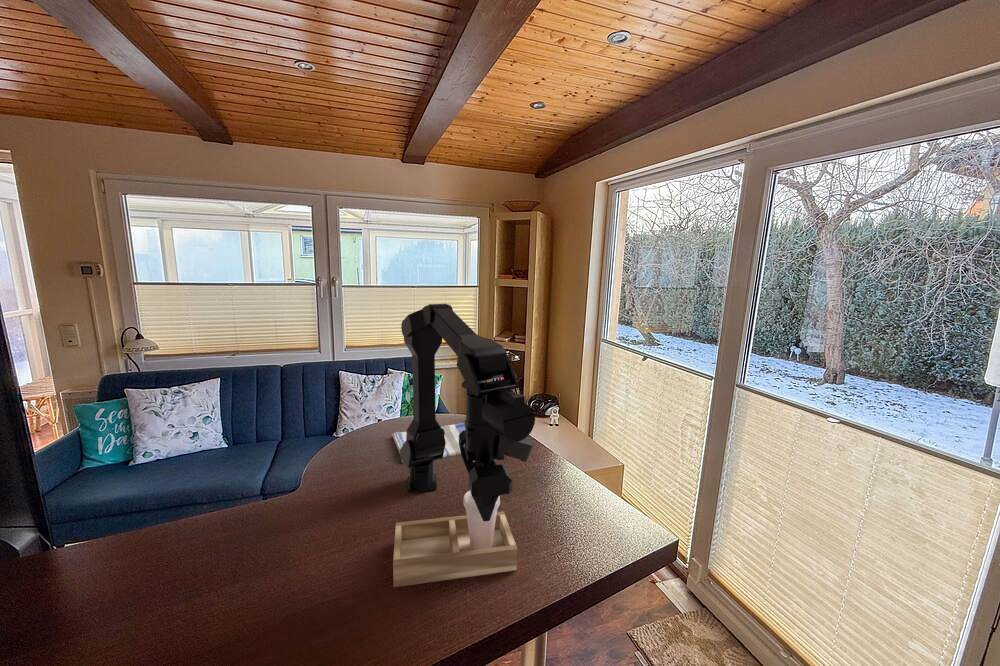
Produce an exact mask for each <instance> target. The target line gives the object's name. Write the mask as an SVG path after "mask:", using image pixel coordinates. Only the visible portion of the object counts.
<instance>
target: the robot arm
mask: <svg viewBox="0 0 1000 666" xmlns="http://www.w3.org/2000/svg"><path fill="white" fill-rule="evenodd" d="M400 325H401V326H400V327H401V328H400V329H401V333H402V336H403V342H404V344H405V346H406V347H407V349H408V350H409V352H410V353H411V358H412V359H411V360H412V361H411V362H412V364H411V365H412V366H411V367H412V397H413V398H412V401H413V402H412V404H413V405H412V406H413V407H412V408H413V419H412V421H411V423H410V424H409V426H408V427H407V429H406V432H407V433H406V441H405V443H404V444H403V446H402V447H401V449H400V453H399V458H400V460H402V461H401V463H402V462H403V463H402V464H404V466H406V468H407V469H408V473H409V474H408V475H407V489H406V491H407V493H417V492H418V493H419V492H427V491H428V492H429V491H430V492H431V491H437V490H438V485H437V483H438V482H437V474H436V473H435V461H437V460H442V459H444V458H443V454H444V449H445V444H446V442H445V438H444V435H445V432H444V430H443V428H441V427H442V426H441V425H440V424H439V422H438V421H437V417H436V414H437V413H436V410H437V409H436V407H437V406H436V358H435V357H436V354H437V352H438V350H439V348H441V345H442V344H443V341H444V343H446V344H447V346H449V347H450V349H451V350H452V351H453V352H454V353H455V355H456V356H457V358H456V359H457V360H456V367H457V368H458V370H459V372H460V374H461V376H462V378H463V382H462V383H461V387H462V388H463V389H465V392H466V394H465V395H466V401H465V405H466V409H465V413H466V414H465V419H464V422H463V423H464V426H465V429H466V430H463V431H462V432H461V433H460V434H459V447H460V452H461V457H462V461H463V463H464V465H465V468H466V470H467V474H468V487H469V491H470V492H471V495H472V497H473V499H474V501H475V503H476V506H477V508H478V510H479V513H480V515H481V517H482V520H483V521H490V518H491V515H492V512H493V510H494V507H495V504H496V501H497V499H498V497H499V496H500V497H501V495H502V496H505V495H510V494H511V493H512V492H513V478H512V476H511V474H510V472H509V470H508V468H507V467H506V466H505V465H503V464H497V463H496V461H495V460H497V461H505V456H506V457H509V458H512V459H513V458H514V459H516V460H519V461H520V462H524V463H526V462H528V460H529V459H530V456H531V453H532V450H533V448H534V442H533V441H532V440H531V438H530V437H529V435H530V434H531V432H532V431H533V430H534V426H535V423H536V415H535V414H534V411H533V409H532V407H531V405H529V404H527V403H525V401H526V399H525V398H526V396H525V395H524V394H523V393H517V392H514V391H513V390H518V389H520V385H519V383H518V375H517V374H516V372H515V370H514V367H513V365H512V363H511V360H510V357H509V355H508V353H507V350H506V348H504V346H503V345H502V344H500V343H499V342H497V341H495V340H493V339H491V338H488V337H484V336H480V335H479V334H477V333H476V332H475V331H474V330H473V329H472V328H471V327H470V326H469V325H468V324H467V323H466V322H465V321H464V320H463V319H462V318H461V317H460V316H459V315H458V314H456V312H455V311H454V309H453V307H452V305H451V304H448V303H429V304H427V305H425V306H424V307H422V308H421V309H420V310H417V311H414V312H412V313H409V314H407V316H406V317H405V318H404V319H403V320H402V322H401V324H400ZM500 378H503V379H500ZM496 379H499V380H496ZM489 380H490V381H489ZM491 380H492V381H491Z"/></svg>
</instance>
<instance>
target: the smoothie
mask: <svg viewBox="0 0 1000 666" xmlns="http://www.w3.org/2000/svg"><path fill="white" fill-rule="evenodd" d="M500 498H501V495H500V496H499V497H498V499H497V501H496V504H495V507H494V510H493V512H492V515H491V518H490V521H483V520H482V517H481V515H480V513H479V510H478V508H477V506H476V503H475V501H474V499H473V497H472V495H471V492H470V490H468V491H466V493H465V494H464V495H463V506H464V508H465V515H467V523H468V531H469V539H470V547H471V550H478V549H486V548H491V546H492V540H493V534H494V527H495V521H496V514H497V512H498V508H499V506H500V504H501V499H500Z"/></svg>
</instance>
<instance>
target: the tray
mask: <svg viewBox="0 0 1000 666" xmlns="http://www.w3.org/2000/svg"><path fill="white" fill-rule="evenodd" d="M506 516H507V515H506V513H505V512H504V511H497V514H496V521H495V527H494V534H493V540H492V546H491V548H486V549H478V550H471V547H470V539H469V531H468V523H467V515H466V514H465V515H464V514H463V515H455V516H447V517H438V518H430V519H429V518H428V519H420V520H410V521H408V520H407V521H401V522H395V528H394V529H395V531H394V547H393V561H392V568H393V569H392V571H393V572H392V573H393V576H392V577H393V578H392V579H393V588H397V587H404V586H405V587H406V586H413V585H420V584H427V583H434V582H442V581H448V580H456V579H463V578H470V577H476V576H477V577H478V576H484V575H485V576H486V575H491V574H492V575H493V574H498V573H506V572H513V571H514V572H515V571H517V570H518V569H517V568H518V547H517V543H516V541H515V539H514V536H513V534H512V530H511V528H510V524H509V522H508V519H507V517H506Z"/></svg>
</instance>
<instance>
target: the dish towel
mask: <svg viewBox="0 0 1000 666" xmlns="http://www.w3.org/2000/svg"><path fill="white" fill-rule="evenodd" d="M440 427H441V428H443V430H444V432H445V435H444V438H445V442H446V444H445V449H444V454H443V459H444V458H449V457H456V456H460V455H461V452H460V447H459V434H460V433H461V432H462V431H463V430H466V429H465V426H464V422H460V423H454V424H450V425H449V424H447V425H446V424H445V425H442V426H440ZM406 433H407V431H395V432H393V433H391V436H392V438H393V441H394V443H395V445H396V449H397V450H398V453H399V454H400V449H401V447H402V446H403V444H404V443H405V441H406ZM400 460H401V459H400ZM401 463H402V464H404V463H403V462H402V460H401Z"/></svg>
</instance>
